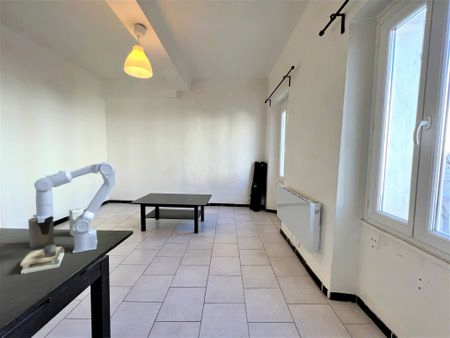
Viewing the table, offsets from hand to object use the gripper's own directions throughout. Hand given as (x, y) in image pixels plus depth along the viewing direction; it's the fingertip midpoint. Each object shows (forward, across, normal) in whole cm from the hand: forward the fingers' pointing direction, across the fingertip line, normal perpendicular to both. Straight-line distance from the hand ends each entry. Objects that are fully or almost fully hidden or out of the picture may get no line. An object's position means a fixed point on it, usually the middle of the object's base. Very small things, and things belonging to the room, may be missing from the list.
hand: (45, 234), depth 97 cm
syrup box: (+10, -26, +9) cm, 29 cm away
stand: (+10, +8, +1) cm, 13 cm away
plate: (+7, +8, +1) cm, 11 cm away
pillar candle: (+10, -17, -5) cm, 20 cm away
